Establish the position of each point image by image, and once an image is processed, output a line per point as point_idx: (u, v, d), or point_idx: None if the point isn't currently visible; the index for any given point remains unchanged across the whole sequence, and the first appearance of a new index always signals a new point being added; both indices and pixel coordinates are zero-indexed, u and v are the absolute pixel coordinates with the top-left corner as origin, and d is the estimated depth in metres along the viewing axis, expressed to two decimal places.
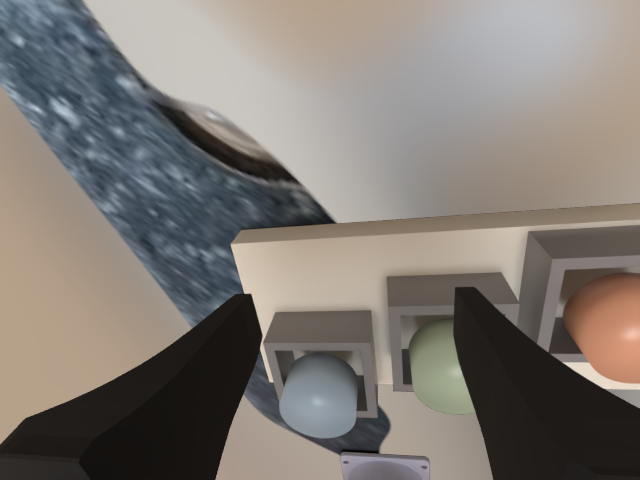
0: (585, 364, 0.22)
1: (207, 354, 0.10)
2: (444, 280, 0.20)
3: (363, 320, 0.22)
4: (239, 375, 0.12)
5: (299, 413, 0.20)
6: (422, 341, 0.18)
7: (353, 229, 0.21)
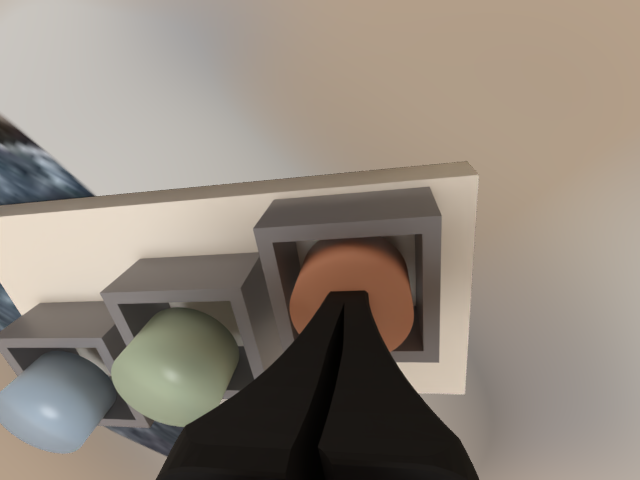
0: None
1: (330, 355, 0.09)
2: (192, 262, 0.16)
3: None
4: None
5: (20, 424, 0.17)
6: None
7: (99, 201, 0.17)
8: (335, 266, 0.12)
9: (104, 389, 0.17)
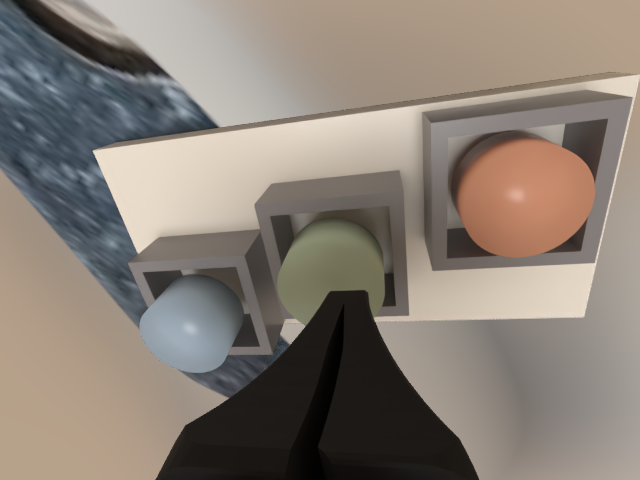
0: (510, 287, 0.19)
1: (330, 354, 0.09)
2: (331, 181, 0.17)
3: (248, 237, 0.18)
4: None
5: (164, 341, 0.17)
6: (293, 244, 0.15)
7: (231, 128, 0.18)
8: (523, 151, 0.12)
9: (238, 311, 0.18)
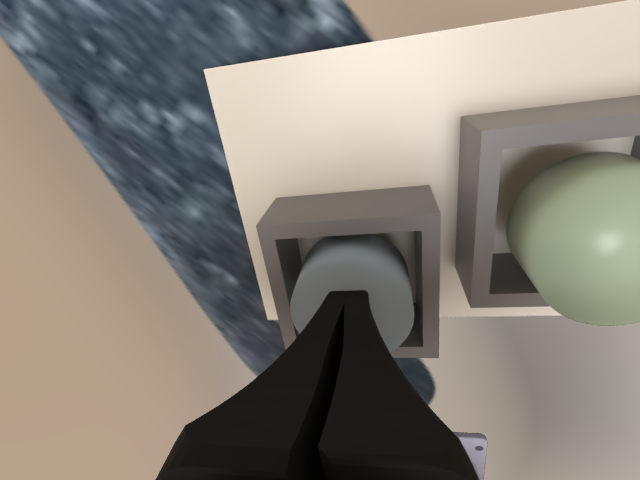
0: None
1: (330, 355, 0.09)
2: (567, 106, 0.12)
3: (420, 194, 0.13)
4: None
5: None
6: (548, 189, 0.10)
7: None
8: None
9: (409, 279, 0.14)
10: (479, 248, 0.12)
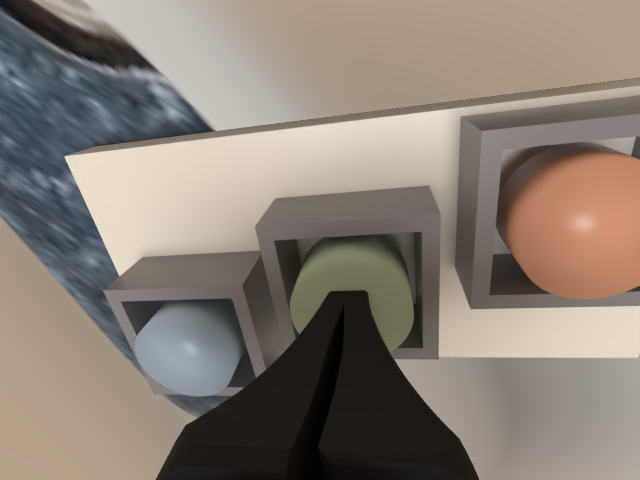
0: (553, 323, 0.16)
1: (330, 355, 0.09)
2: (348, 197, 0.14)
3: (247, 261, 0.16)
4: None
5: (162, 362, 0.15)
6: (307, 259, 0.13)
7: (228, 132, 0.15)
8: (605, 169, 0.09)
9: None
10: (279, 313, 0.14)
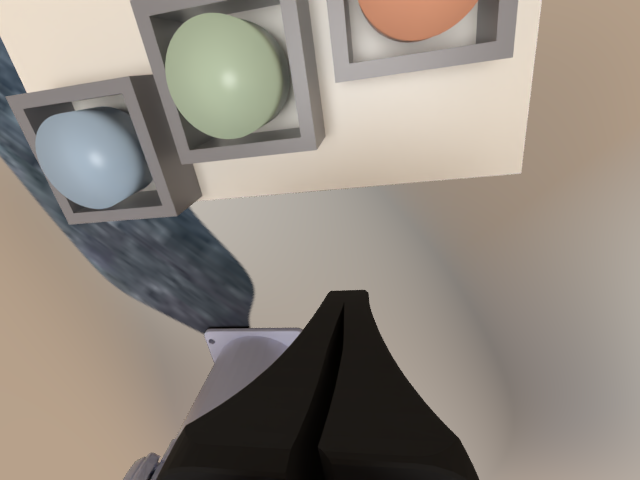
0: (439, 137, 0.17)
1: (330, 354, 0.09)
2: None
3: None
4: None
5: (63, 168, 0.16)
6: None
7: None
8: None
9: None
10: (167, 107, 0.15)
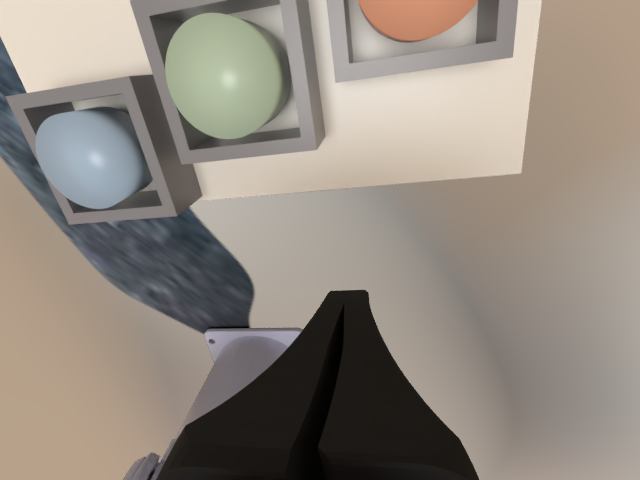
0: (439, 137, 0.17)
1: (330, 354, 0.09)
2: None
3: None
4: None
5: (63, 168, 0.16)
6: None
7: None
8: None
9: None
10: (167, 107, 0.15)
